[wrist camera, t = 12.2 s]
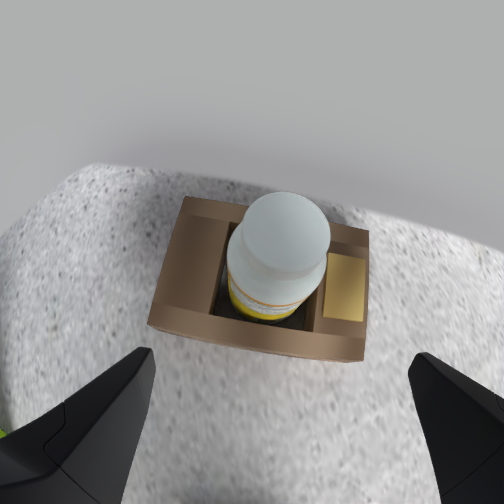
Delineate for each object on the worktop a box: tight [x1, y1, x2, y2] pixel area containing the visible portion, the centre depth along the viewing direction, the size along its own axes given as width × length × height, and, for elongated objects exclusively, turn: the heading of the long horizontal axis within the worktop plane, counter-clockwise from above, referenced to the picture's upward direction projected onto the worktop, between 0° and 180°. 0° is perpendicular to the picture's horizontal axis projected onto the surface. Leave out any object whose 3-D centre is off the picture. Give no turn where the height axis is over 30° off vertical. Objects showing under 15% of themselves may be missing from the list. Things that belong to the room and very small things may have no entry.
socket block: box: [147, 196, 369, 363], centre depth 20 cm, size 14×10×3 cm
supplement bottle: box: [227, 192, 331, 325], centre depth 17 cm, size 5×5×10 cm
